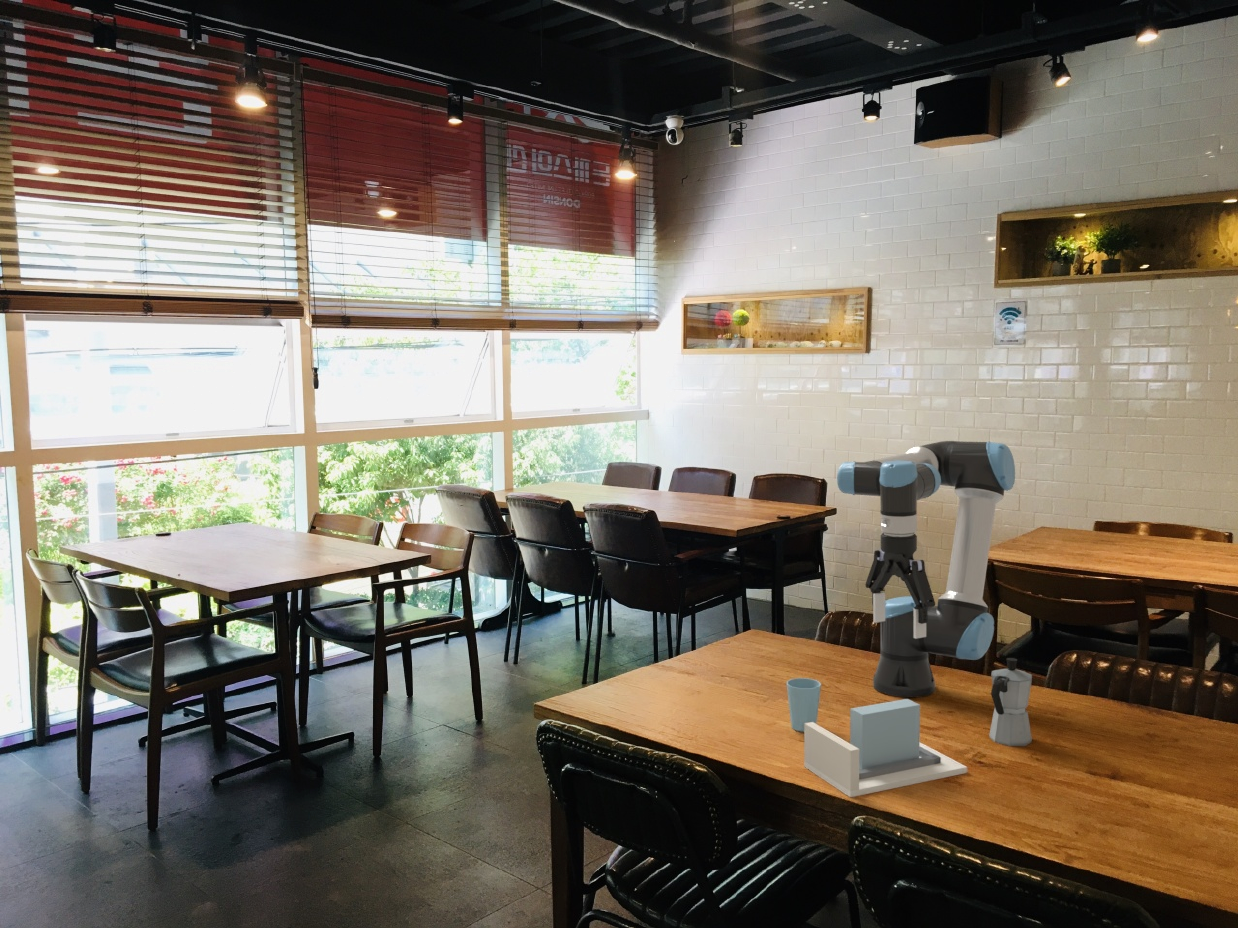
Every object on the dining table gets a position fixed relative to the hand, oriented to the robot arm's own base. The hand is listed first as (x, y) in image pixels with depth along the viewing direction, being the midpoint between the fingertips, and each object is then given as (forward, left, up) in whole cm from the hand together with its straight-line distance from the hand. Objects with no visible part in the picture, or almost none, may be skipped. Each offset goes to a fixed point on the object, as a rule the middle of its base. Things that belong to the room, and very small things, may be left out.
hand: (899, 629), depth 216 cm
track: (+13, +12, -25) cm, 30 cm away
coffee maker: (-21, +10, -25) cm, 34 cm away
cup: (+15, -15, -25) cm, 32 cm away
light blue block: (+13, +12, -24) cm, 29 cm away
